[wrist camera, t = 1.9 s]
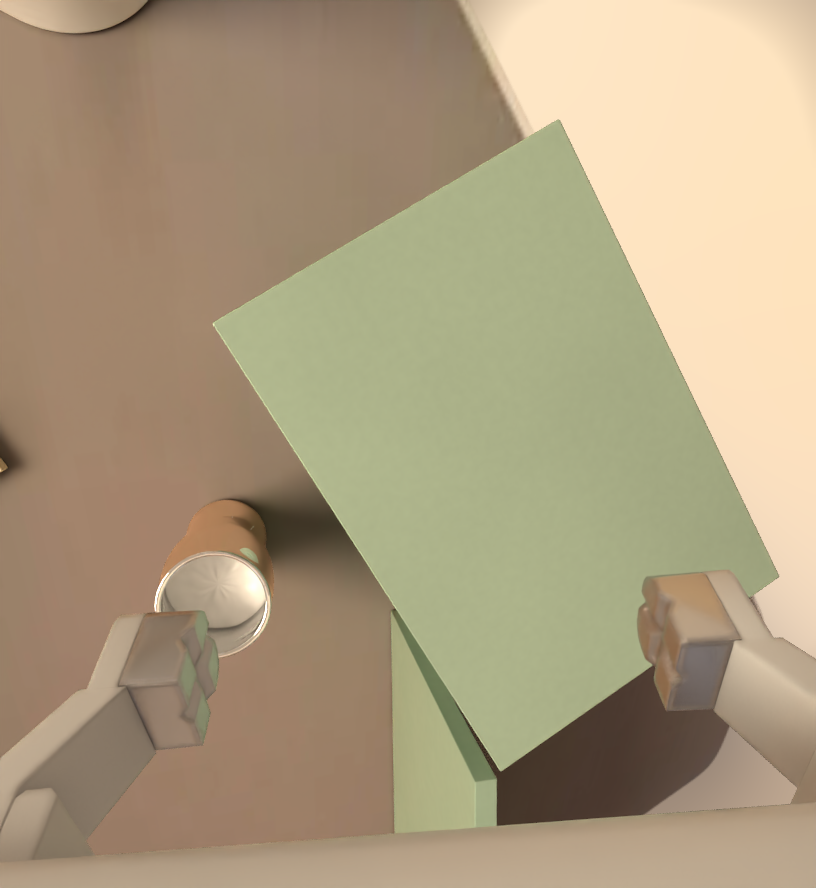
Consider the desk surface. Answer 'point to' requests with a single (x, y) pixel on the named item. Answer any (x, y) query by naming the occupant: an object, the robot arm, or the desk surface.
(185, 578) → the beer glass
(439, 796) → the green cabinet door
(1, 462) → the control box
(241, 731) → the desk surface
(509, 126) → the desk surface
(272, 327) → the green cabinet
